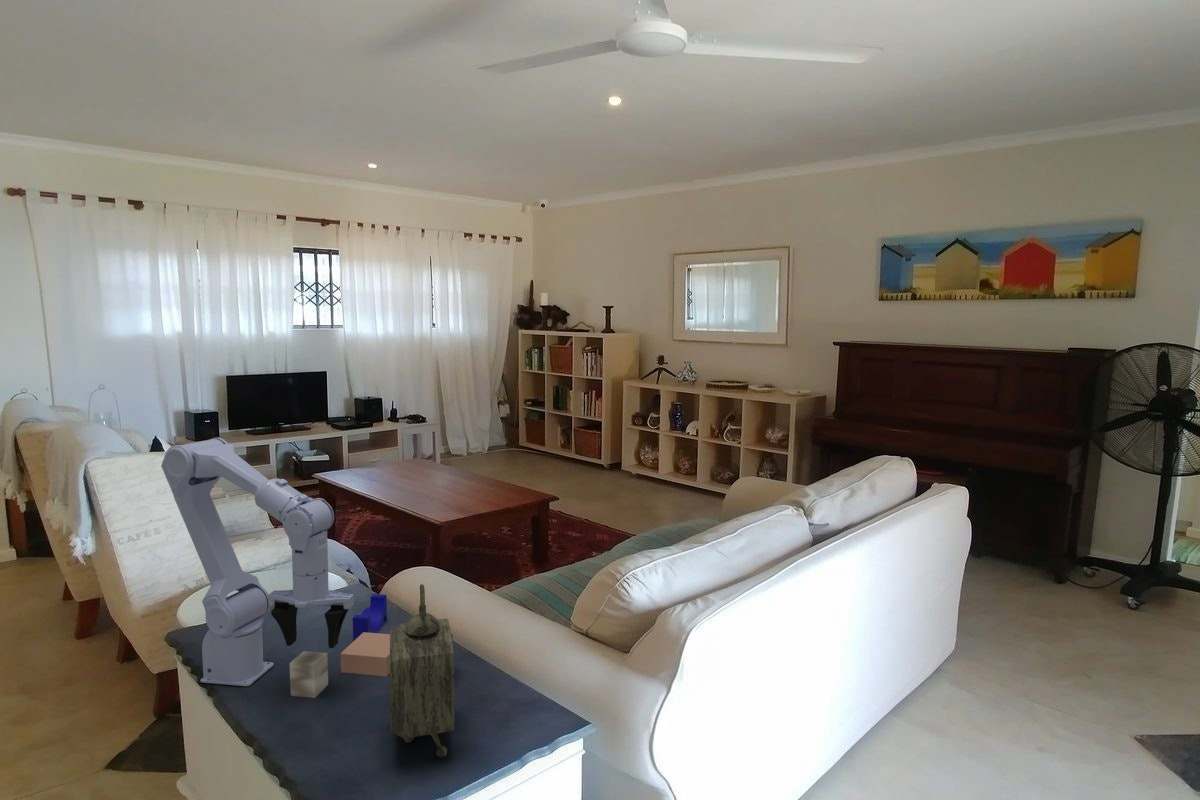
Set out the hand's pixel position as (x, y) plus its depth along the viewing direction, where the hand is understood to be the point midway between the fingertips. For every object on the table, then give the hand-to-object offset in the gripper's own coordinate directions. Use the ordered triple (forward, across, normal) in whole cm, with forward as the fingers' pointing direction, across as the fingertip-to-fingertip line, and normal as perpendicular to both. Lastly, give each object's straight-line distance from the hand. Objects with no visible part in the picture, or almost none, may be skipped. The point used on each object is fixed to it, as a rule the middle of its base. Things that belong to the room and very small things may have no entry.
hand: (312, 644), depth 121 cm
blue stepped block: (+9, 0, +23) cm, 24 cm away
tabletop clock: (+8, +24, -12) cm, 28 cm away
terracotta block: (+9, +7, +10) cm, 15 cm away
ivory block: (+8, -1, 0) cm, 9 cm away
